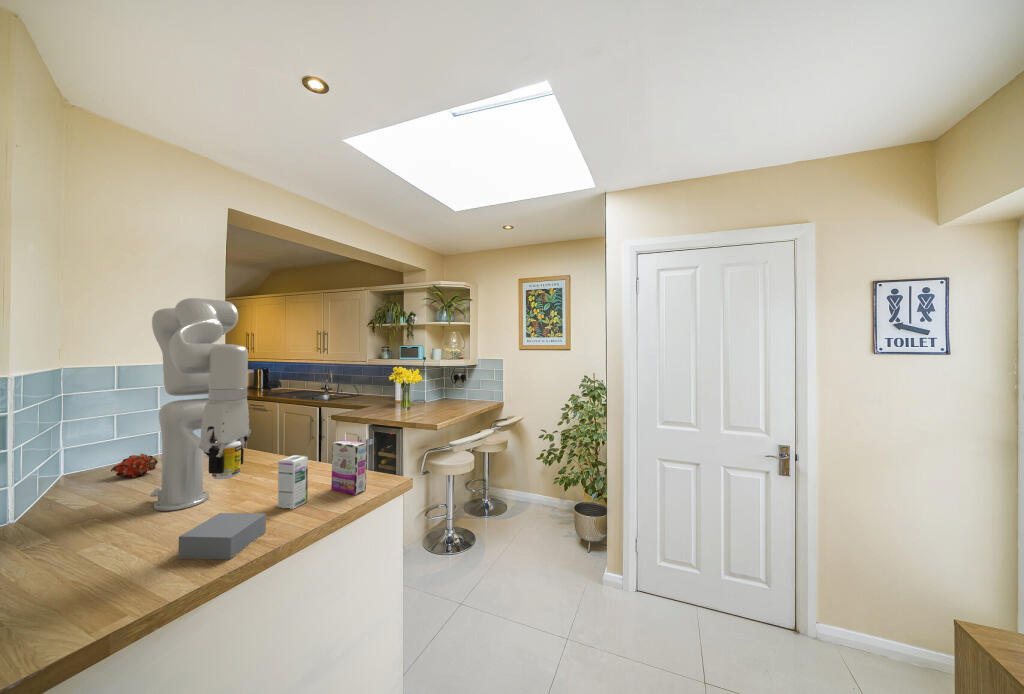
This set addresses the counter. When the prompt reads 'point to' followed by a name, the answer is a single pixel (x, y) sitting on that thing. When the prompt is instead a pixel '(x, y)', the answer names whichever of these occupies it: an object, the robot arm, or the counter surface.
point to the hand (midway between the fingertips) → (226, 467)
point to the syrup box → (292, 481)
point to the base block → (221, 536)
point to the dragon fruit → (135, 466)
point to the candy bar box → (349, 467)
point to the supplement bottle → (230, 460)
